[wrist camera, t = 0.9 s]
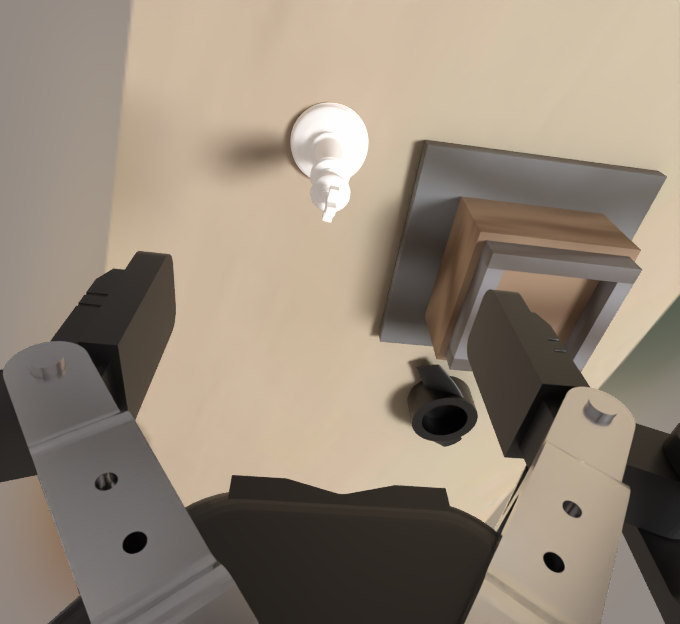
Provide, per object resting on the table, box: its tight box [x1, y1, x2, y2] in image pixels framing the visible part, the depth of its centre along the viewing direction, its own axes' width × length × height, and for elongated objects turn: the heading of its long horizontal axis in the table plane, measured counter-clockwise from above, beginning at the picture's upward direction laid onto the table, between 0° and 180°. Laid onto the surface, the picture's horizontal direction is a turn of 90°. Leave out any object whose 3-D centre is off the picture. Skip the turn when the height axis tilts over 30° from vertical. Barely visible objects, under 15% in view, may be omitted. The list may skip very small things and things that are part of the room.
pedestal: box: [379, 140, 667, 372], centre depth 33 cm, size 16×16×8 cm
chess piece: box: [290, 102, 368, 222], centre depth 27 cm, size 5×5×10 cm
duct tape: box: [408, 365, 478, 447], centre depth 44 cm, size 8×10×3 cm
